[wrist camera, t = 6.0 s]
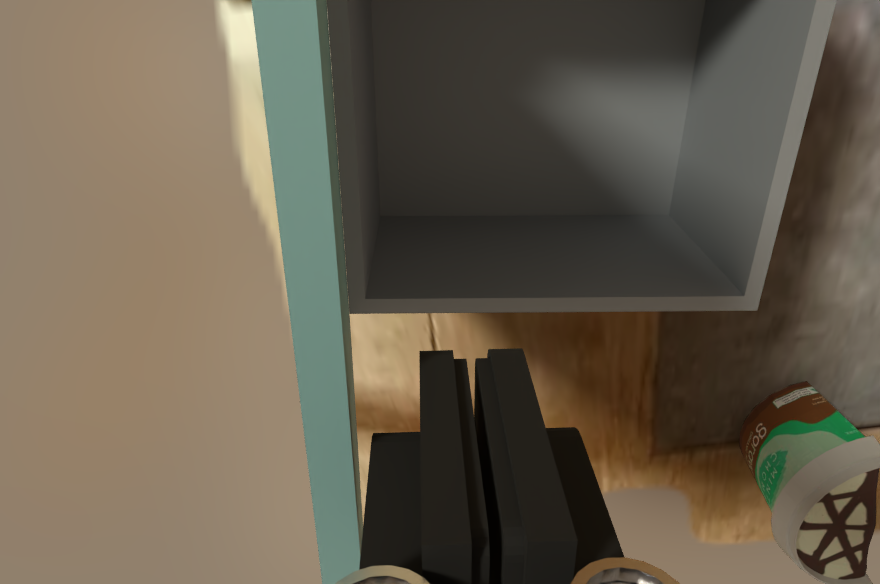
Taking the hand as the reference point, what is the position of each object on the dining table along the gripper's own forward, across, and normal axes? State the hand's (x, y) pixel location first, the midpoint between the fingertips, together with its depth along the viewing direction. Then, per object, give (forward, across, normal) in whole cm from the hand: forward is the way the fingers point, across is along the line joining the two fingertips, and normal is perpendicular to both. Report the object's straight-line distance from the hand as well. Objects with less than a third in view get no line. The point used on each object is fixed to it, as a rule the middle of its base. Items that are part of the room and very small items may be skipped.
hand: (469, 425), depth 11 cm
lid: (+9, +3, -1) cm, 9 cm away
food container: (+32, -26, +26) cm, 48 cm away
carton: (+31, -6, -1) cm, 32 cm away
